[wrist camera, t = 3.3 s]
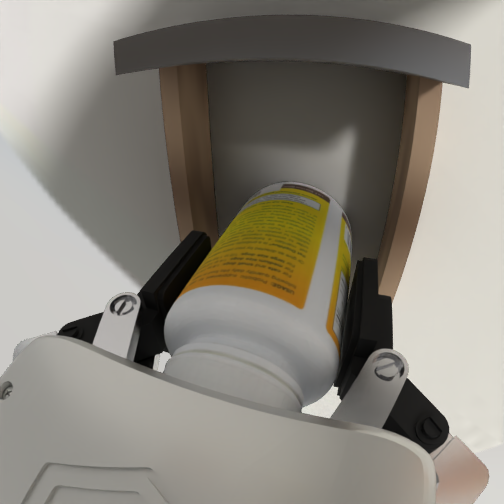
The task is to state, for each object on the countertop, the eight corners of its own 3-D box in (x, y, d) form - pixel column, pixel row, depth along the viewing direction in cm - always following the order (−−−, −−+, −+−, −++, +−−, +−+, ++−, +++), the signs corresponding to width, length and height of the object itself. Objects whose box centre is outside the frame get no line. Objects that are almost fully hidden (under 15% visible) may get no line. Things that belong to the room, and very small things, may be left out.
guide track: (378, 302, 16) (376, 378, 12) (209, 272, 18) (170, 332, 14) (426, 51, 8) (470, 44, 4) (189, 40, 11) (113, 41, 7)
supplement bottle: (221, 217, 16) (99, 379, 8) (303, 153, 13) (194, 344, 5) (289, 290, 17) (225, 463, 9) (374, 245, 14) (361, 462, 6)
